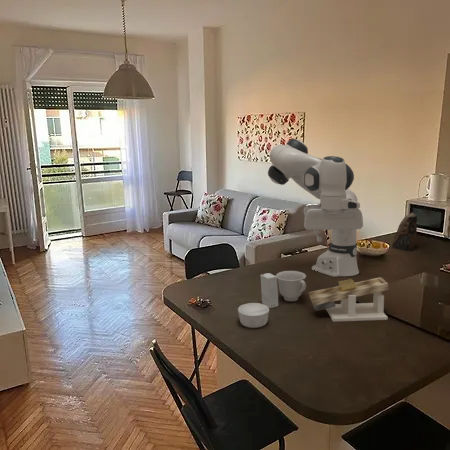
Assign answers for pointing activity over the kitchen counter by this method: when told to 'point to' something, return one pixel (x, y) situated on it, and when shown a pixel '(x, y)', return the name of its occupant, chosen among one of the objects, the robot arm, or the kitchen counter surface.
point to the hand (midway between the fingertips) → (332, 241)
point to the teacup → (291, 284)
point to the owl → (406, 233)
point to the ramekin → (253, 314)
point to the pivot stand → (358, 309)
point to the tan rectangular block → (346, 285)
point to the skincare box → (269, 290)
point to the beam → (346, 292)
